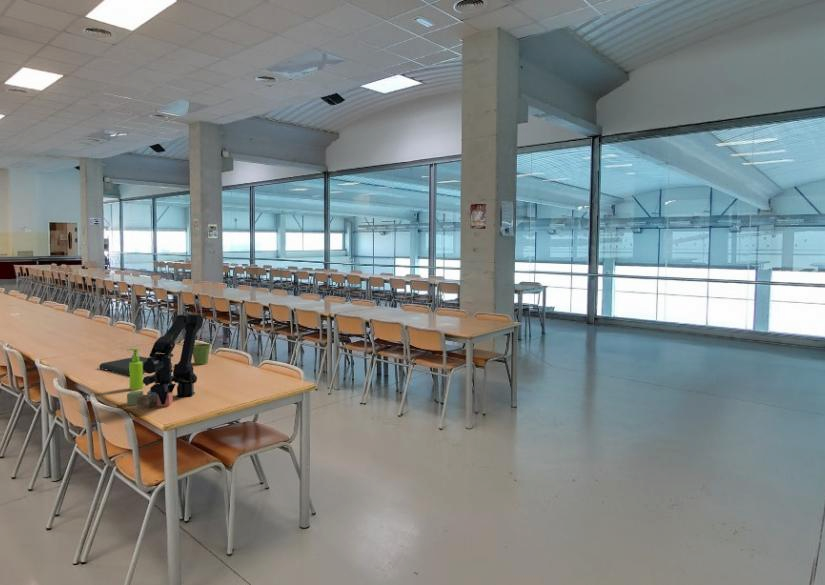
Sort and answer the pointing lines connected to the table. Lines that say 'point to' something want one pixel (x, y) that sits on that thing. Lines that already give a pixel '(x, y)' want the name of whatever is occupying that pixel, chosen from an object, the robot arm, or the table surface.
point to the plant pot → (201, 353)
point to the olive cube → (133, 397)
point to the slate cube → (153, 395)
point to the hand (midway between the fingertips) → (165, 402)
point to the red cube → (168, 400)
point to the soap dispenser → (136, 371)
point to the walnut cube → (144, 401)
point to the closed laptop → (121, 365)
